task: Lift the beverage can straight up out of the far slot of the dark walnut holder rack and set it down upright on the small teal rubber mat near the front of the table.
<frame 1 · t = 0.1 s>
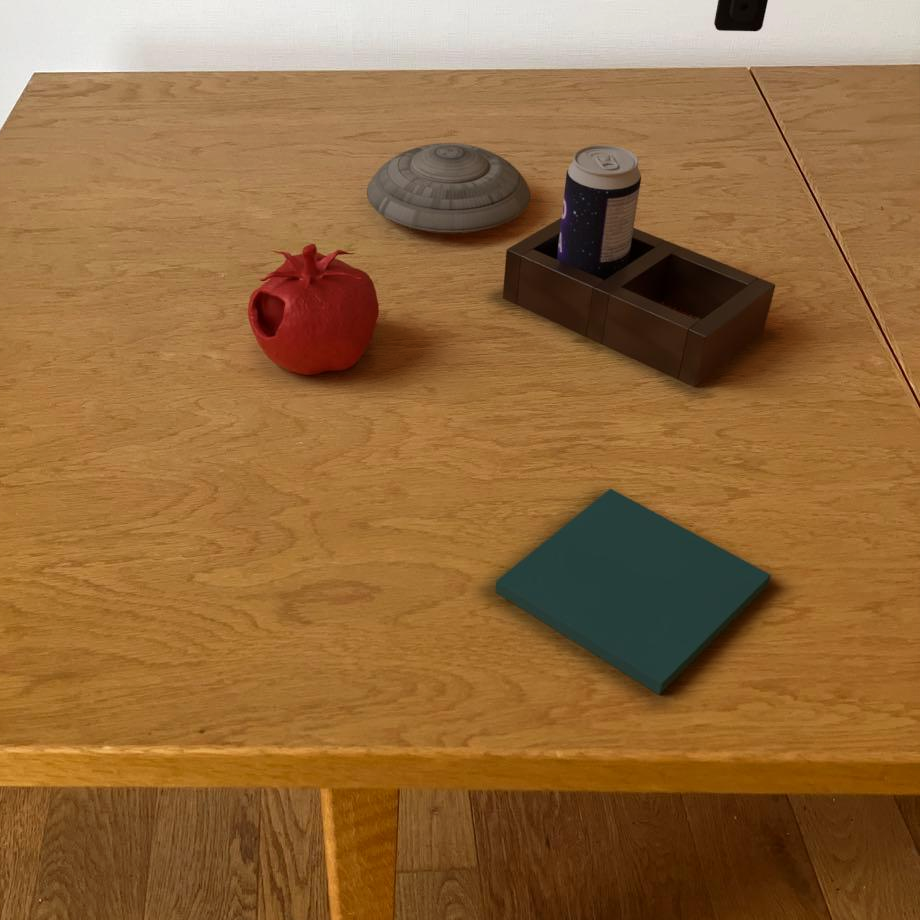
hand: (726, 4, 86), 22 cm above the table, tool pointing down, fingers open, 9 cm apart
rack: (630, 315, 97), on the table
beverage can: (587, 298, 99), resting in rack
flying saucer: (447, 208, 111), on the table
pomegranate: (315, 352, 93), on the table
mat: (631, 589, 74), on the table
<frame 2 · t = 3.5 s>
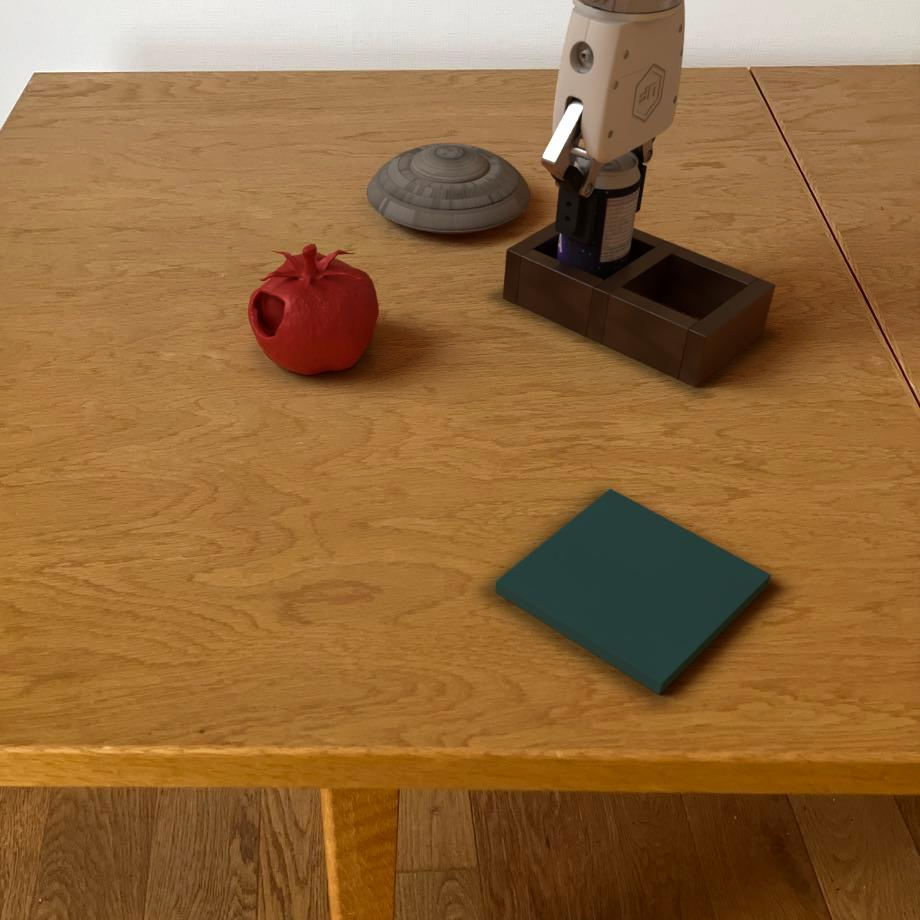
hand: (597, 219, 94), 7 cm above the table, tool pointing down, fingers closed on beverage can, 5 cm apart
beverage can: (587, 298, 99), resting in rack, touching gripper
everything else where it was.
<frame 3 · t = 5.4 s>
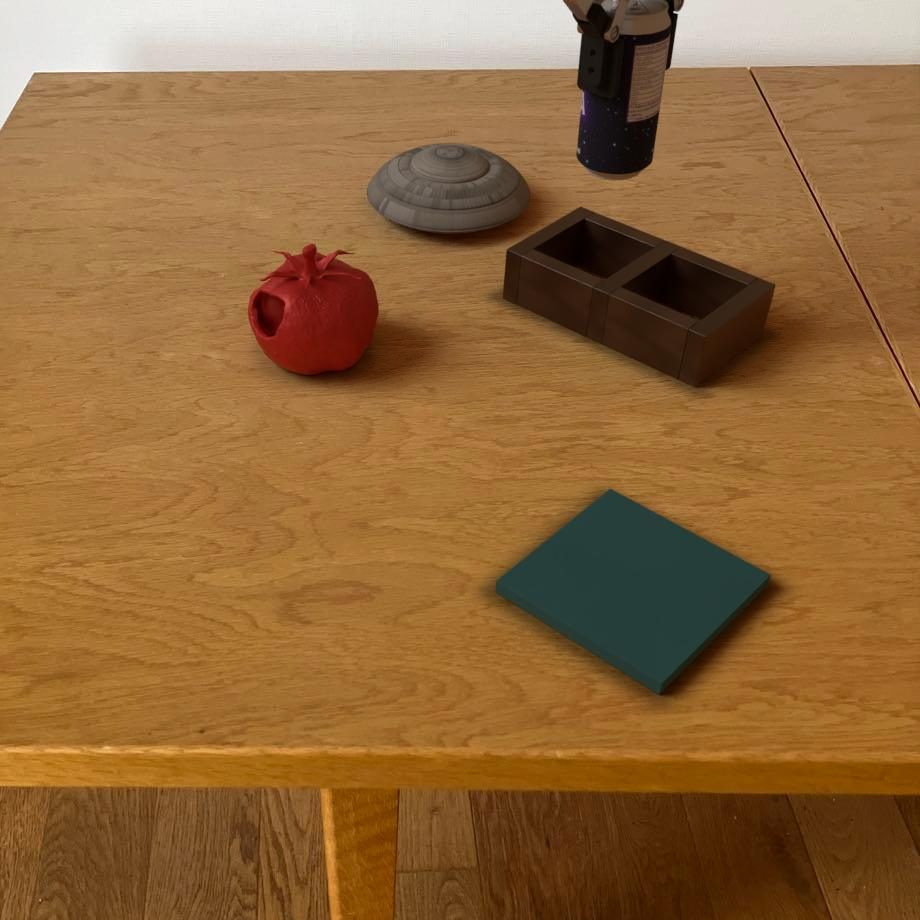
hand: (624, 76, 86), 19 cm above the table, tool pointing down, fingers closed on beverage can, 5 cm apart
beverage can: (612, 170, 91), point 11 cm above the table, touching gripper
everything else where it was.
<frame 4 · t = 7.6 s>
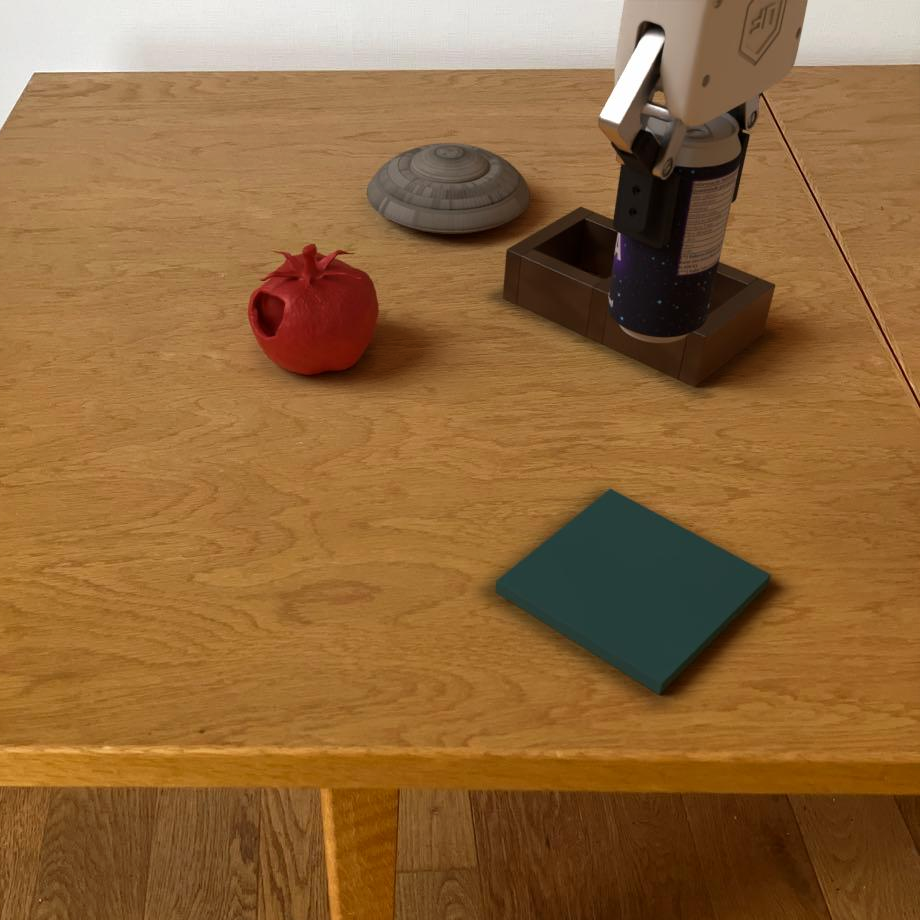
hand: (675, 213, 65), 22 cm above the table, tool pointing down, fingers closed on beverage can, 5 cm apart
beverage can: (654, 326, 69), point 14 cm above the table, touching gripper
everything else where it was.
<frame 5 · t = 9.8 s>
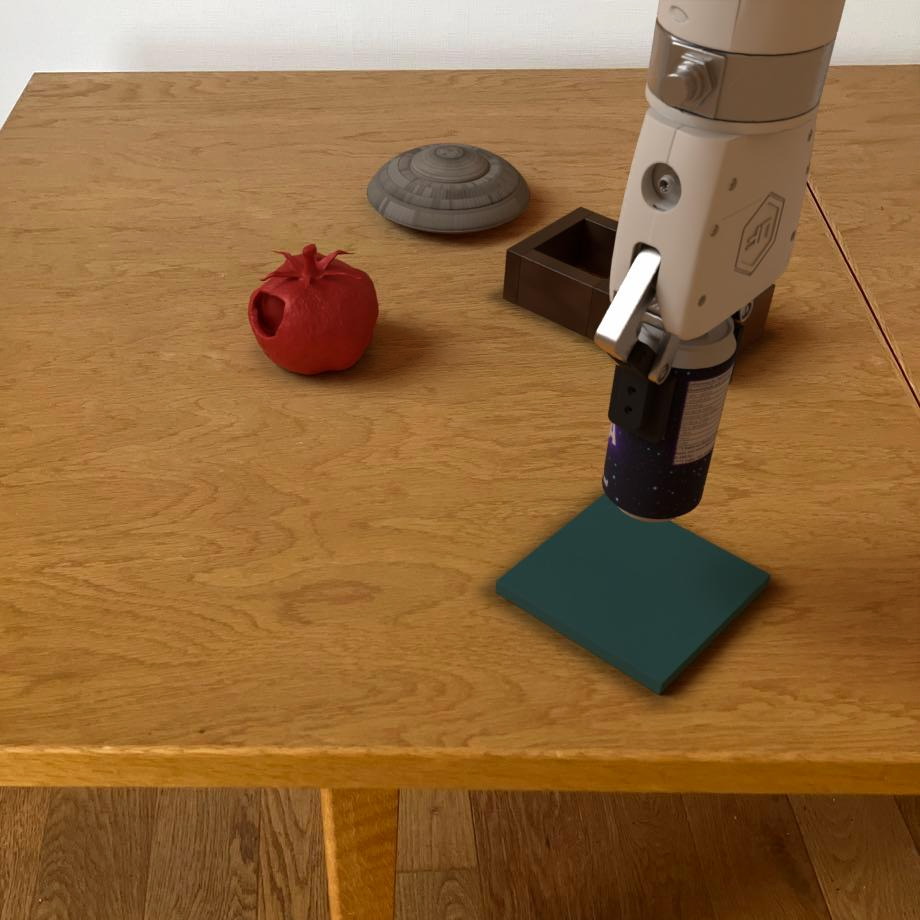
hand: (669, 401, 64), 14 cm above the table, tool pointing down, fingers closed on beverage can, 5 cm apart
beverage can: (649, 501, 69), point 7 cm above the table, touching gripper
everything else where it was.
when the fingers open (8 cm above the table, at t = 11.7 s): beverage can stays where it is, resting on mat.
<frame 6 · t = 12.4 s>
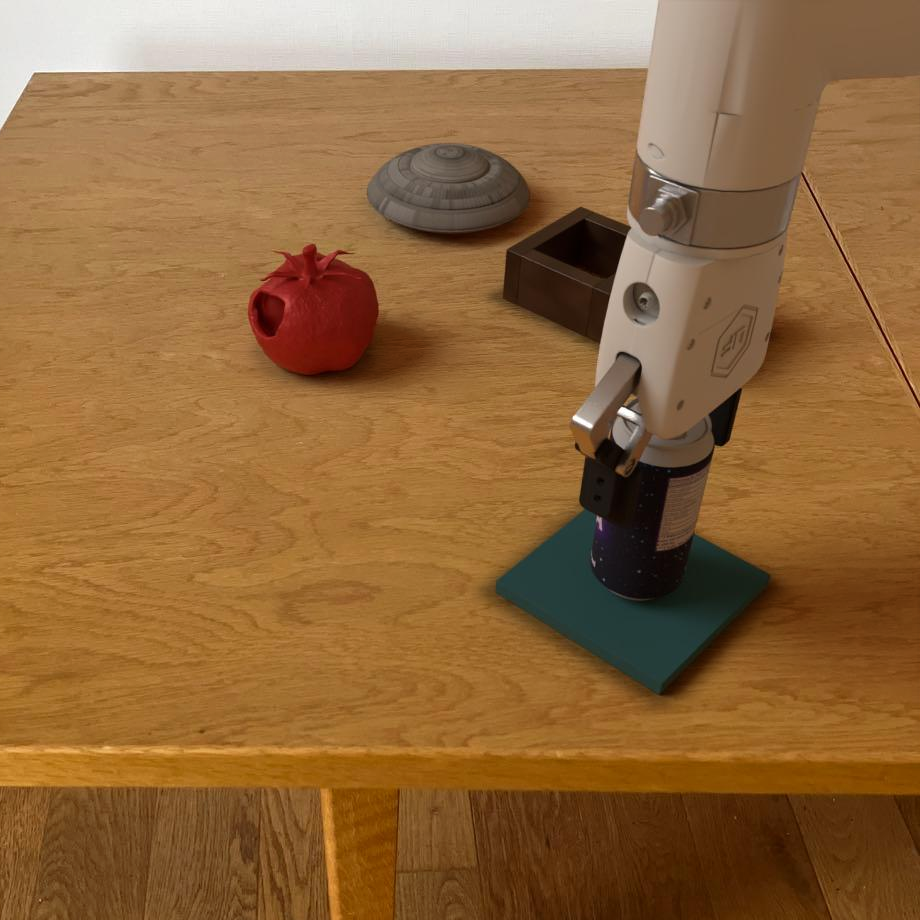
hand: (655, 473, 68), 9 cm above the table, tool pointing down, fingers open, 9 cm apart
beverage can: (634, 578, 73), point 1 cm above the table, touching mat
everything else where it was.
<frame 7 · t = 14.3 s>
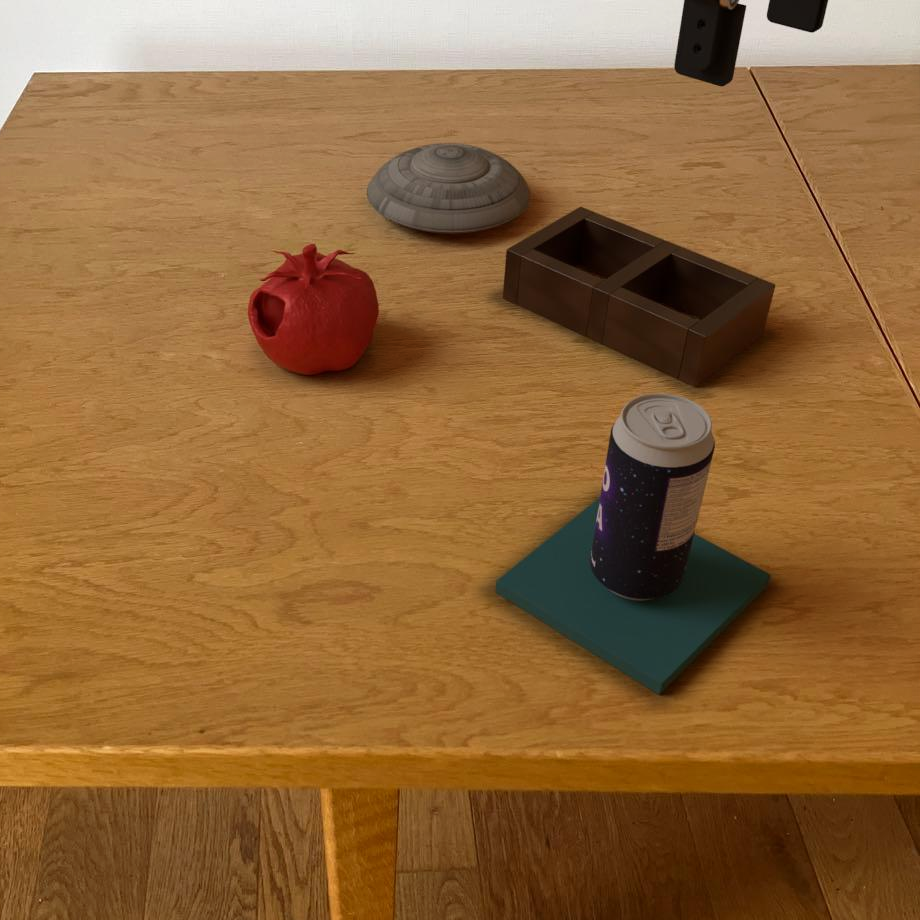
hand: (749, 51, 65), 28 cm above the table, tool pointing down, fingers open, 9 cm apart
nothing on the table moved.
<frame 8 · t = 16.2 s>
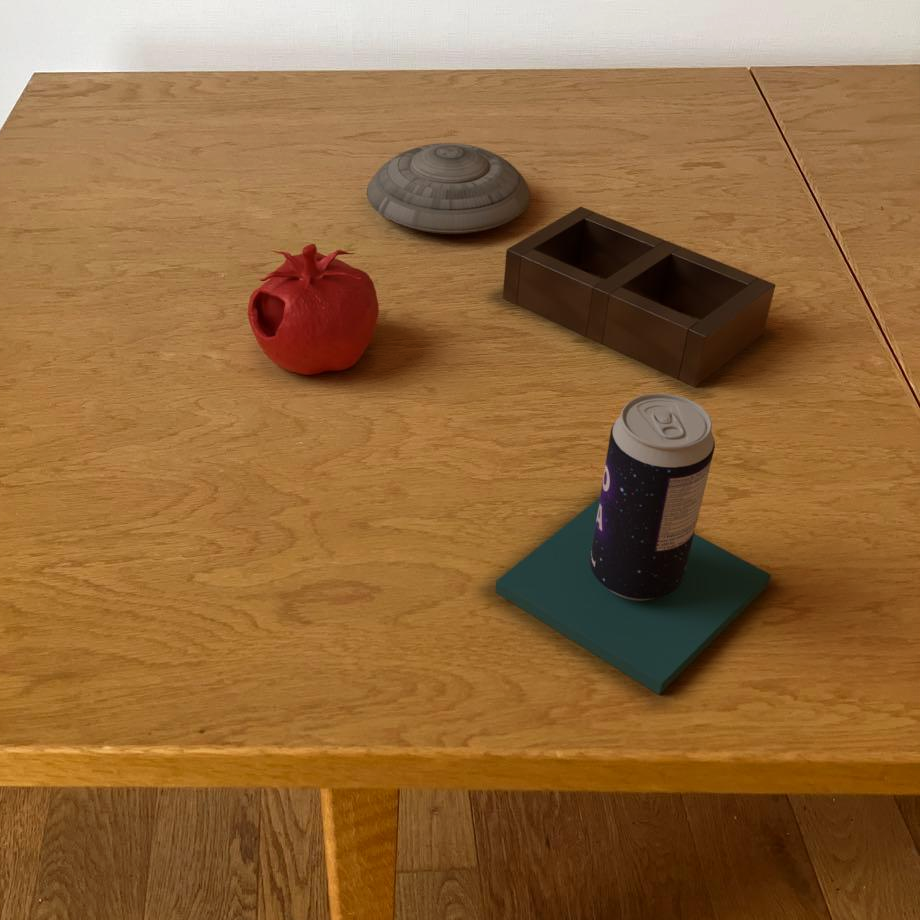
nothing on the table moved.
at the end: beverage can inside the target area on the mat (0.1 cm from its centre), point 0.8 cm above the mat's base; beverage can tilted 0°; beverage can touching mat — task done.
